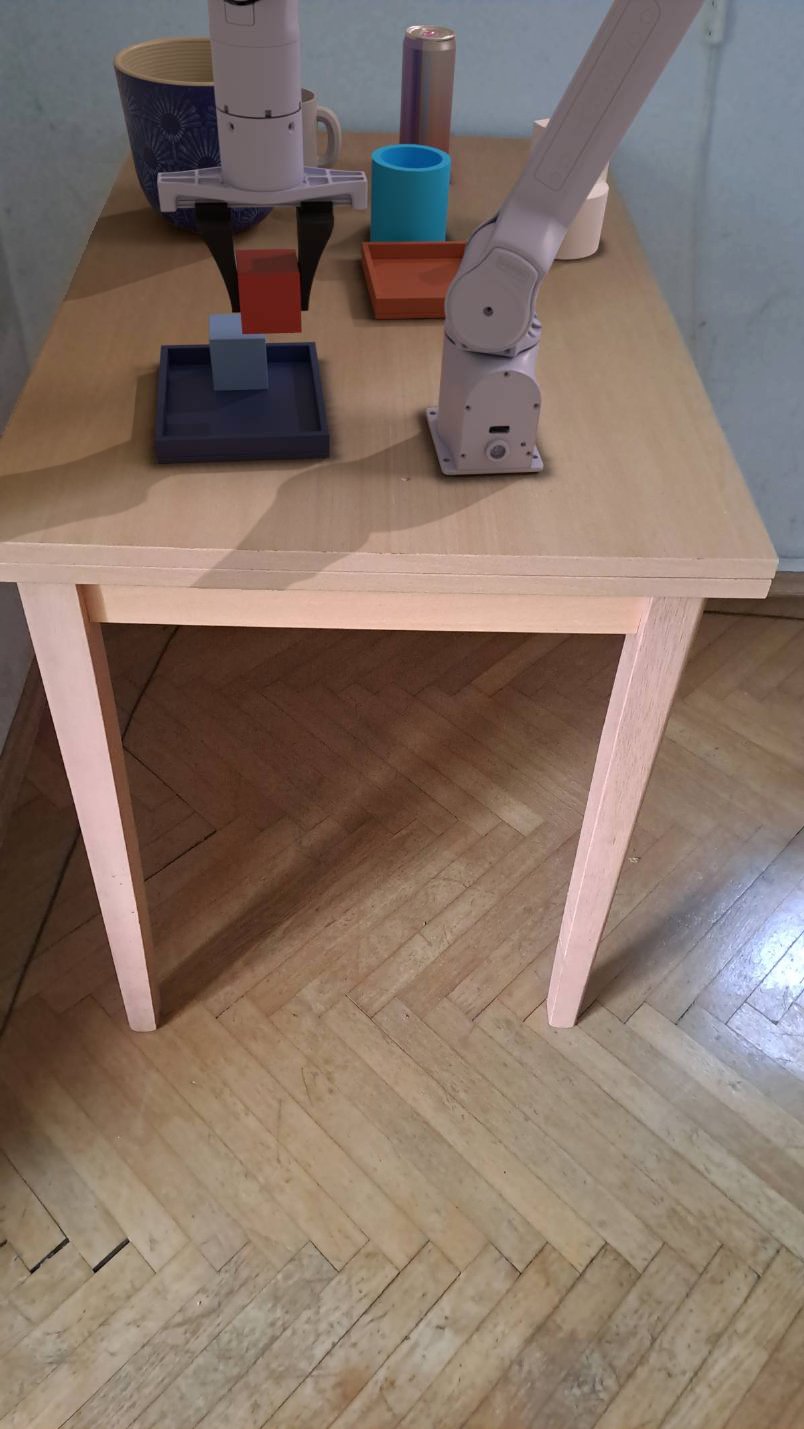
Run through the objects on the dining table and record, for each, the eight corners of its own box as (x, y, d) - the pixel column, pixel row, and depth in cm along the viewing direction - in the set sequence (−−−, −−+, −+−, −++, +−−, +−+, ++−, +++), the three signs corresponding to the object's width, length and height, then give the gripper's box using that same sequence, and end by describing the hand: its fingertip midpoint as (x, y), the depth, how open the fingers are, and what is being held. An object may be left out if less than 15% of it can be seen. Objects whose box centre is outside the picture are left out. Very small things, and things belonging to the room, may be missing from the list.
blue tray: (329, 457, 77) (329, 434, 76) (157, 463, 76) (154, 440, 74) (315, 363, 88) (315, 341, 86) (163, 366, 86) (160, 344, 85)
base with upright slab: (563, 221, 113) (581, 101, 104) (615, 249, 108) (639, 127, 99) (499, 235, 109) (513, 112, 101) (550, 265, 104) (569, 139, 95)
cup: (259, 168, 120) (254, 84, 114) (341, 171, 121) (341, 87, 114) (255, 190, 115) (250, 103, 109) (341, 193, 116) (341, 106, 109)
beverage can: (391, 181, 119) (396, 34, 108) (406, 166, 123) (412, 22, 112) (439, 189, 118) (449, 40, 107) (452, 173, 122) (462, 28, 111)
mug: (442, 258, 104) (448, 174, 98) (365, 251, 105) (367, 167, 99) (449, 215, 113) (455, 135, 107) (378, 209, 113) (380, 129, 107)
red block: (301, 332, 75) (299, 273, 72) (242, 334, 75) (237, 274, 72) (297, 306, 78) (295, 248, 75) (240, 308, 78) (235, 249, 75)
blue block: (268, 389, 83) (265, 338, 80) (214, 391, 83) (208, 339, 79) (266, 363, 86) (263, 313, 83) (214, 365, 86) (208, 314, 82)
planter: (299, 195, 115) (294, 40, 104) (285, 255, 103) (278, 87, 92) (152, 188, 114) (131, 31, 103) (122, 247, 103) (95, 78, 92)
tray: (501, 316, 95) (503, 296, 94) (375, 319, 94) (376, 298, 92) (476, 260, 104) (477, 240, 103) (361, 261, 103) (361, 241, 101)
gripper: (360, 88, 70) (358, 281, 80) (149, 87, 68) (174, 285, 78) (372, 120, 65) (369, 321, 75) (146, 120, 63) (173, 326, 73)
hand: (270, 306), depth 76 cm, fingers closed on red block, 4 cm apart
